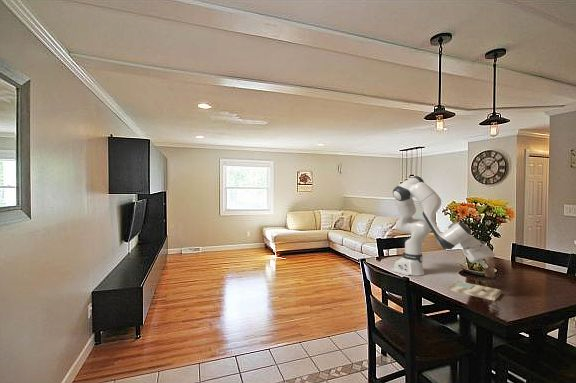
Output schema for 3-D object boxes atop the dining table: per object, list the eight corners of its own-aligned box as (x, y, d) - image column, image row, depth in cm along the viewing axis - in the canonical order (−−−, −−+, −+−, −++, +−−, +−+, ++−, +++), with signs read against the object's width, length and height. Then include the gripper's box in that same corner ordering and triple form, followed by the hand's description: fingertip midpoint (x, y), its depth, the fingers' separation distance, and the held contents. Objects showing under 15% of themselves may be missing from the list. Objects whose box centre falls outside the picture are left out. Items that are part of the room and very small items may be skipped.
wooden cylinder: (483, 276, 156) (483, 258, 156) (485, 274, 159) (485, 257, 159) (493, 277, 153) (493, 259, 153) (495, 276, 156) (495, 258, 156)
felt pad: (454, 285, 165) (454, 284, 165) (459, 282, 171) (459, 281, 171) (470, 289, 159) (470, 288, 159) (474, 285, 165) (474, 284, 165)
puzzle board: (449, 290, 165) (449, 285, 165) (457, 284, 174) (457, 280, 174) (494, 300, 148) (494, 296, 148) (500, 294, 158) (500, 289, 158)
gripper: (465, 245, 158) (484, 266, 149) (485, 241, 167) (504, 261, 158) (457, 251, 162) (475, 272, 153) (477, 247, 171) (495, 267, 162)
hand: (490, 266), depth 156 cm, fingers closed on wooden cylinder, 4 cm apart
